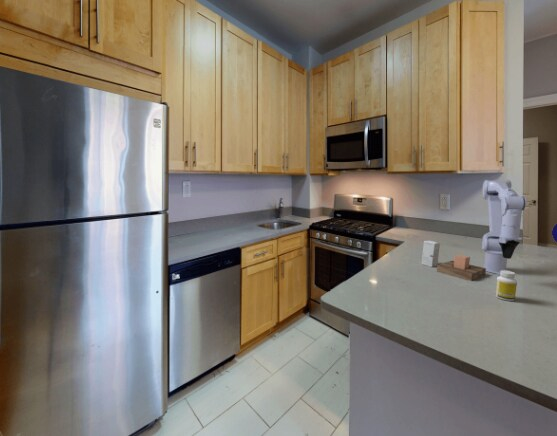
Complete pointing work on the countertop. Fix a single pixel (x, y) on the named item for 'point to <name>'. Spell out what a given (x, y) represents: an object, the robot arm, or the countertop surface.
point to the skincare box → (430, 253)
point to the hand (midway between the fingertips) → (507, 258)
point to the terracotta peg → (461, 261)
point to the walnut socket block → (461, 271)
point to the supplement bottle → (506, 286)
